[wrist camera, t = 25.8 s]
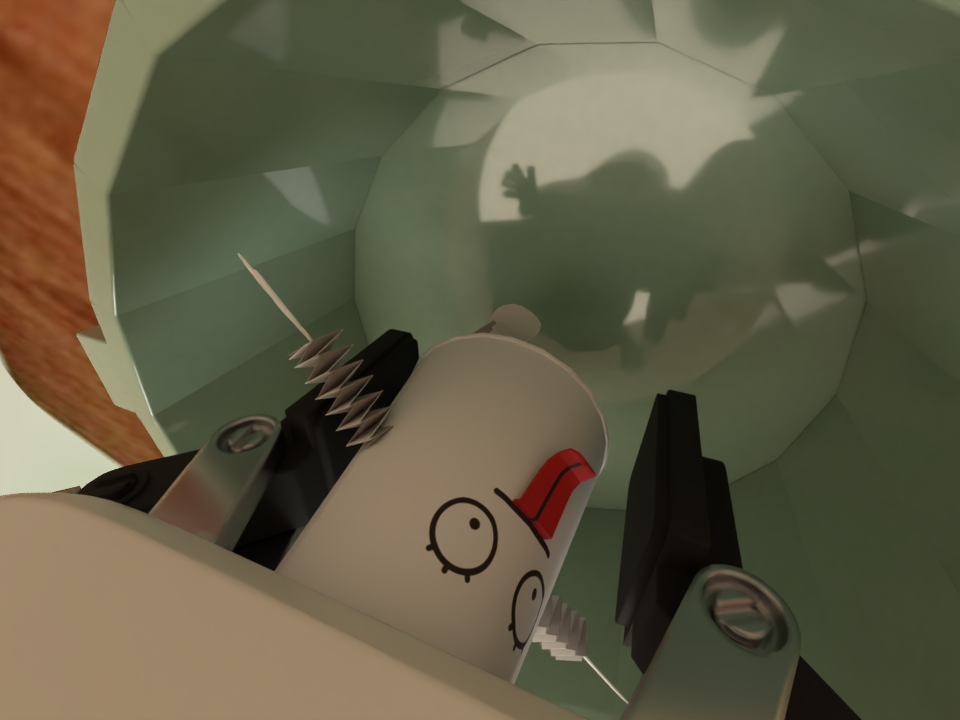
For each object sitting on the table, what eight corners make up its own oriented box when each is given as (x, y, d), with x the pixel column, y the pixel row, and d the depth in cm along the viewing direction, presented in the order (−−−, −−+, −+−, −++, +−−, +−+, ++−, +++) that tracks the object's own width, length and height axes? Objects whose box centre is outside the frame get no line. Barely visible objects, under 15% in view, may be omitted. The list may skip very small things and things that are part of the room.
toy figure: (735, 505, 11) (819, 1094, 5) (566, 533, 15) (471, 897, 8) (476, 114, 9) (-156, 160, 2) (343, 255, 12) (-66, 444, 5)
